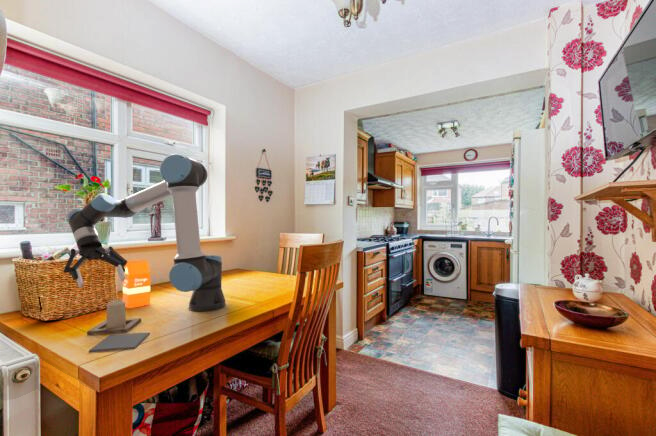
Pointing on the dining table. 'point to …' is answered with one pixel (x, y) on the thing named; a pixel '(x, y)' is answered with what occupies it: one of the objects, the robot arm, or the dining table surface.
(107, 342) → the charcoal mat
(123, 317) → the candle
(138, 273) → the orange juice
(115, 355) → the dining table surface
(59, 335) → the dining table surface
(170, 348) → the dining table surface
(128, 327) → the grey square frame
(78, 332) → the dining table surface
